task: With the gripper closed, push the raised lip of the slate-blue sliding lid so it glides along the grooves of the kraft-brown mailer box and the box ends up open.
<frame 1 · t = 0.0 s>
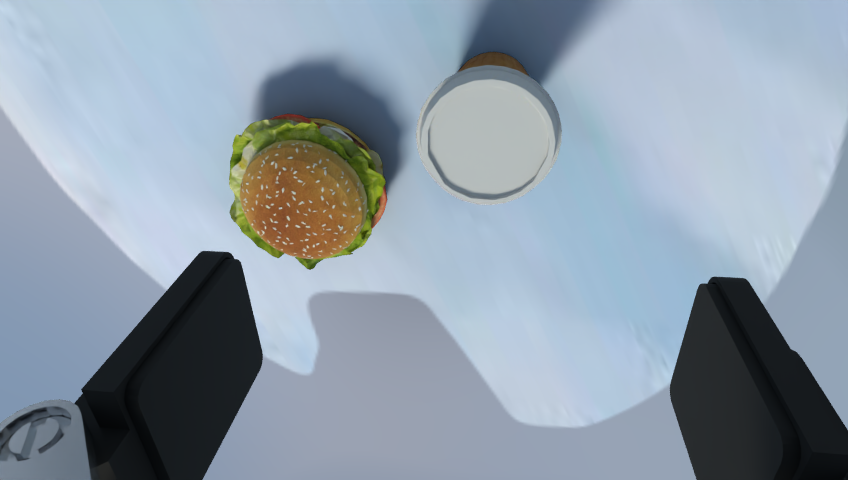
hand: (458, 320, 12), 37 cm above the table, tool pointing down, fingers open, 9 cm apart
disposable coffee cup: (491, 90, 46), on the table
food: (316, 172, 52), on the table
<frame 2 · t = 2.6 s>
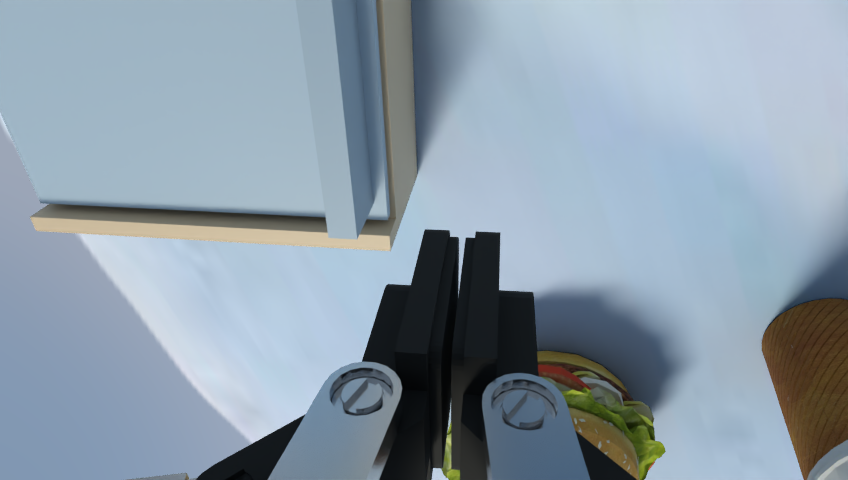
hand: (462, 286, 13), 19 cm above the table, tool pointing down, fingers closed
lid: (162, 112, 23), point 8 cm above the table, slide at 0.0 cm
disposable coffee cup: (816, 336, 34), on the table
food: (540, 401, 41), on the table
mailer box: (247, 58, 30), on the table
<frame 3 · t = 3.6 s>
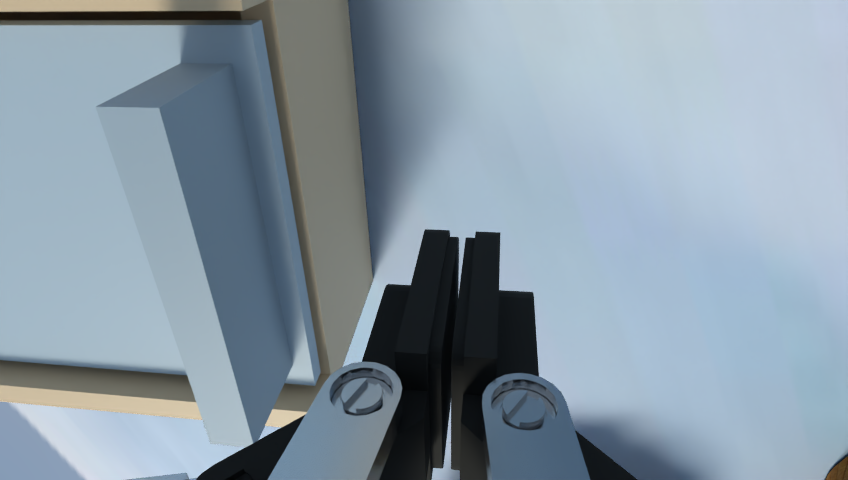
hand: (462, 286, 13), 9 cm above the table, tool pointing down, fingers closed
mailer box: (134, 131, 22), on the table
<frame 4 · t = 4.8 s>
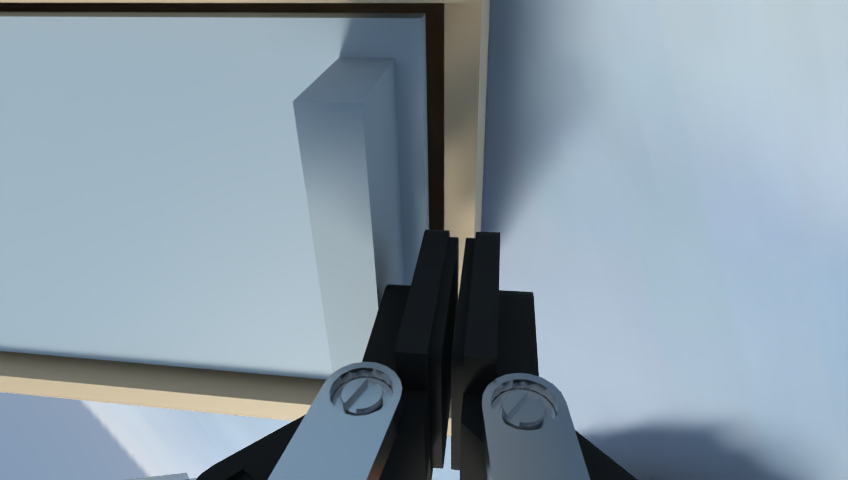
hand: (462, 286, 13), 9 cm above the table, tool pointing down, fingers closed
lid: (77, 246, 14), point 8 cm above the table, slide at 1.0 cm, touching gripper
mailer box: (247, 128, 21), on the table
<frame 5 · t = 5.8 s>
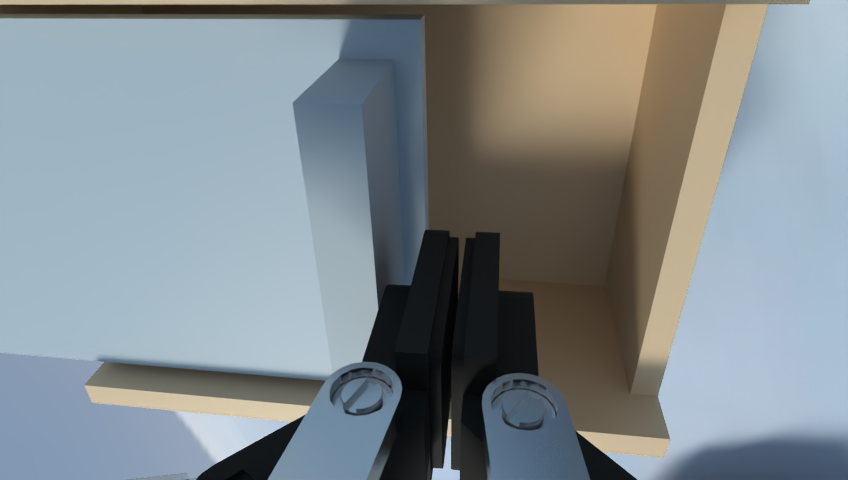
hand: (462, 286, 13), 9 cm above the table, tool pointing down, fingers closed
lid: (77, 247, 14), point 8 cm above the table, slide at 6.7 cm, touching gripper
mailer box: (395, 134, 21), on the table
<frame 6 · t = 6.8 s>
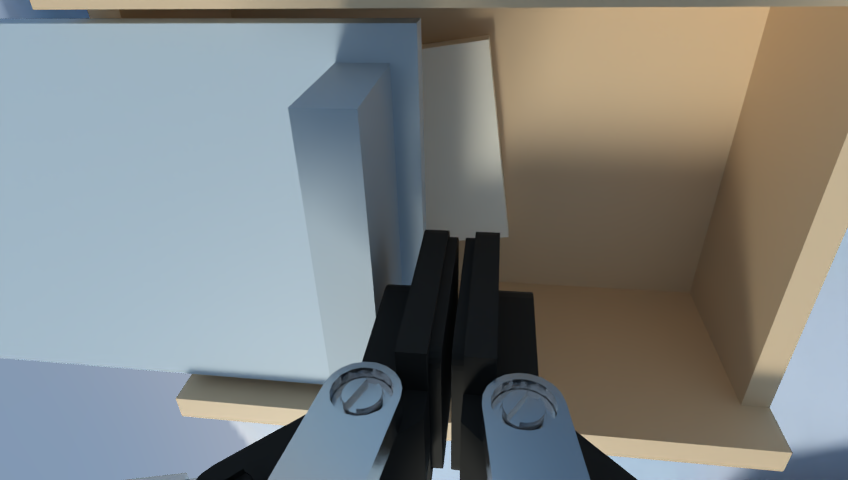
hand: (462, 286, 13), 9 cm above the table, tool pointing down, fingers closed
lid: (74, 252, 14), point 9 cm above the table, slide at 9.9 cm, touching gripper
mailer box: (480, 139, 20), on the table
envelope: (437, 146, 20), point 1 cm above the table, touching mailer box
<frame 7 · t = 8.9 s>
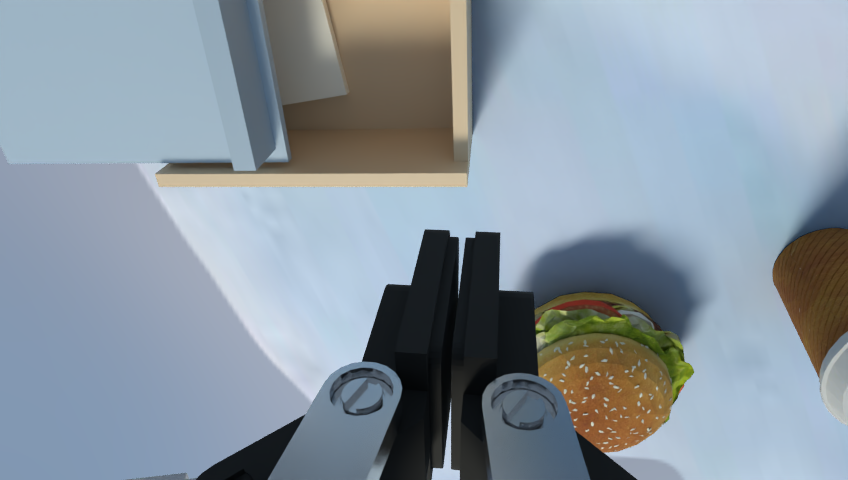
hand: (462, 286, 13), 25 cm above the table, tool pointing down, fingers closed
lid: (100, 77, 29), point 8 cm above the table, slide at 10.0 cm
disposable coffee cup: (819, 264, 40), on the table
food: (578, 342, 46), on the table
mailer box: (328, 38, 35), on the table
envelope: (301, 41, 34), point 1 cm above the table, touching mailer box
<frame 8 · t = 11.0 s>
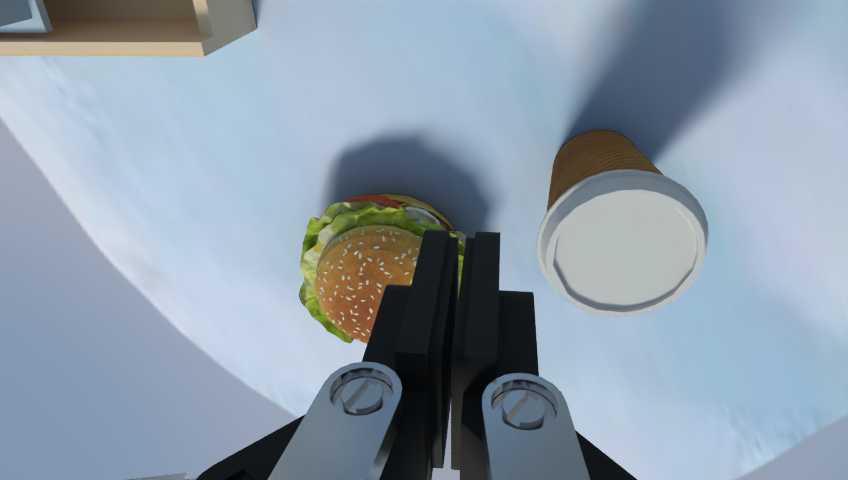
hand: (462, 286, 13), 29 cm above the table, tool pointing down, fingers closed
disposable coffee cup: (595, 168, 42), on the table
food: (390, 248, 48), on the table
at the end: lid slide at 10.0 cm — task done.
